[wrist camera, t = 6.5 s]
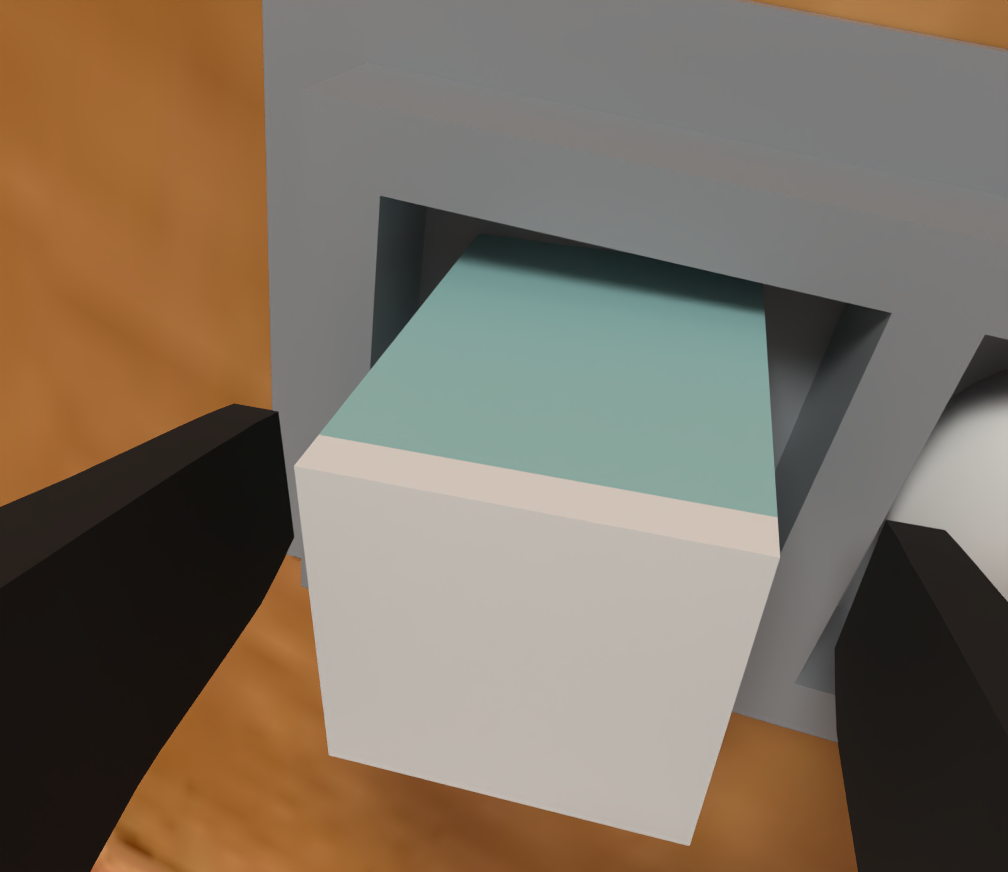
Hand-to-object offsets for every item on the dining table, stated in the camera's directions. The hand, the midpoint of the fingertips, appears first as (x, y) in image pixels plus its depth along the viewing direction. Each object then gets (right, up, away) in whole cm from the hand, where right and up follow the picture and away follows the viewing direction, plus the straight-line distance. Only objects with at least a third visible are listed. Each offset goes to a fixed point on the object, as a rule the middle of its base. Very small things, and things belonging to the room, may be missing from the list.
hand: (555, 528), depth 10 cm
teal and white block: (+1, +2, +3) cm, 4 cm away
